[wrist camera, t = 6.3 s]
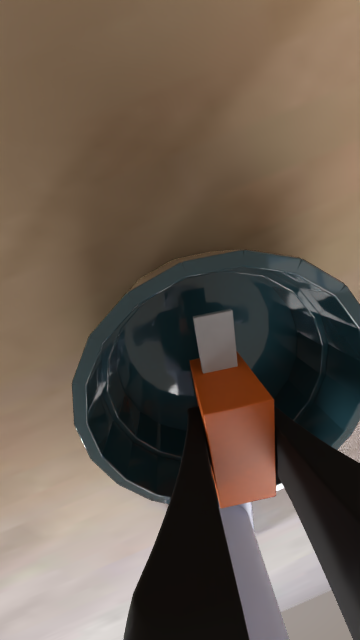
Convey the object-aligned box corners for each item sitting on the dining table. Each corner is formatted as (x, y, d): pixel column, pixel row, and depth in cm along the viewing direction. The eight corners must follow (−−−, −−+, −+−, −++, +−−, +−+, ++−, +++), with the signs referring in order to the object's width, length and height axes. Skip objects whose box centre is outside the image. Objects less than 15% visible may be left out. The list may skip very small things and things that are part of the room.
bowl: (300, 412, 16) (356, 477, 12) (135, 448, 16) (124, 529, 11) (307, 232, 12) (406, 217, 7) (73, 278, 11) (9, 295, 7)
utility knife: (243, 426, 13) (276, 496, 9) (203, 435, 13) (220, 509, 9) (231, 300, 10) (273, 327, 6) (179, 310, 10) (190, 344, 6)
